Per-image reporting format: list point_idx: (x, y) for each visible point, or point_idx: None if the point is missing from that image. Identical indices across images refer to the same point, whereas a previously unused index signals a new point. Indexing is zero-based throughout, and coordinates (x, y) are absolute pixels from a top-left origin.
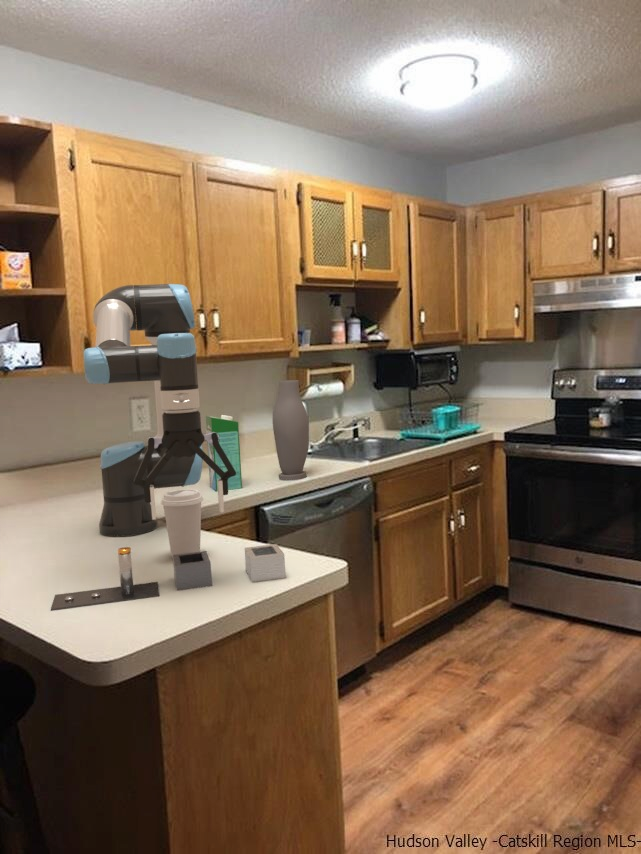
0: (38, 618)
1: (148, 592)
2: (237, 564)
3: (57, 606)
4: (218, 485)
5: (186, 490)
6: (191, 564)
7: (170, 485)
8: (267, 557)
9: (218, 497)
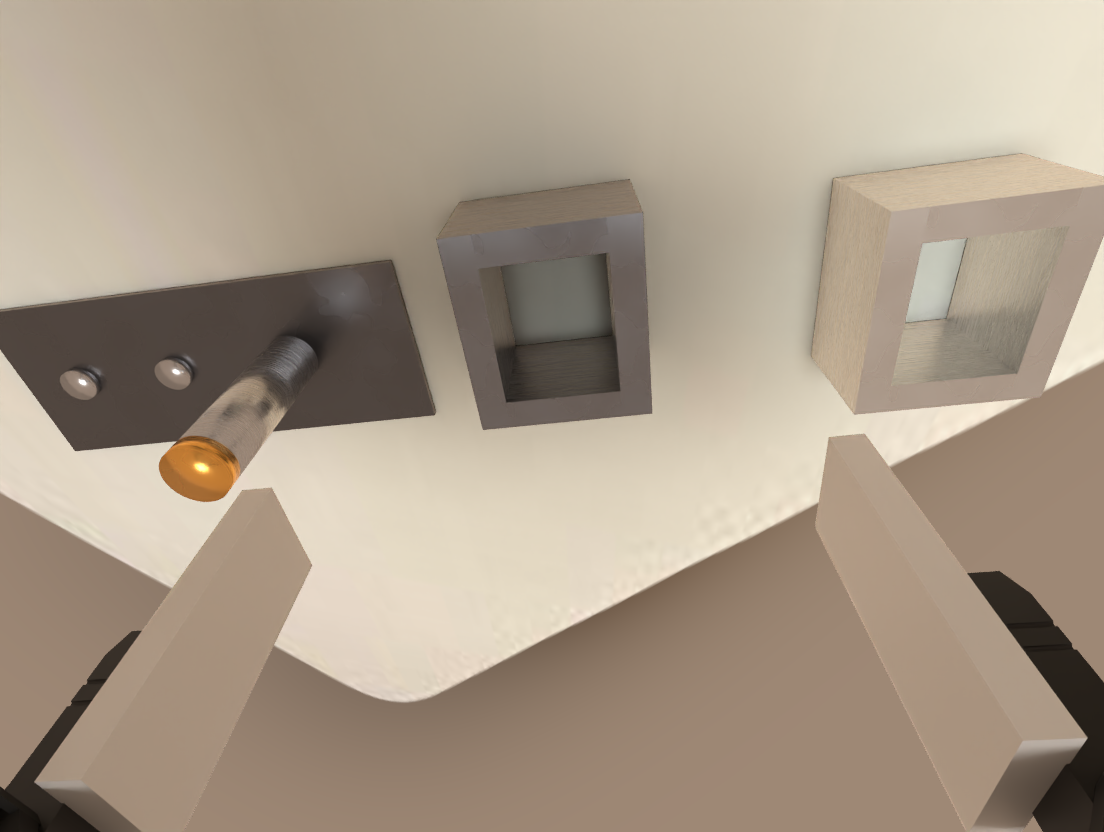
0: (84, 495)
1: (384, 383)
2: (819, 35)
3: (85, 436)
4: (942, 739)
5: None
6: (559, 421)
7: None
8: (942, 403)
9: (879, 544)
